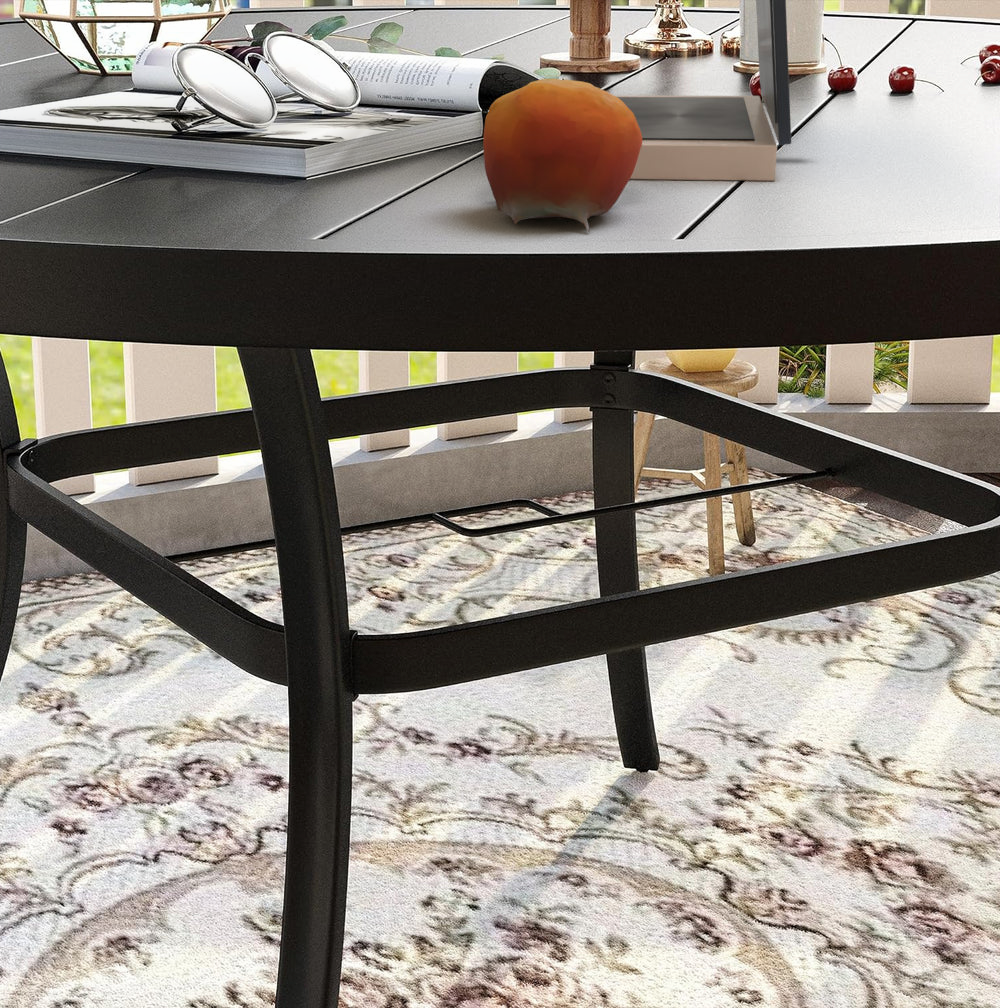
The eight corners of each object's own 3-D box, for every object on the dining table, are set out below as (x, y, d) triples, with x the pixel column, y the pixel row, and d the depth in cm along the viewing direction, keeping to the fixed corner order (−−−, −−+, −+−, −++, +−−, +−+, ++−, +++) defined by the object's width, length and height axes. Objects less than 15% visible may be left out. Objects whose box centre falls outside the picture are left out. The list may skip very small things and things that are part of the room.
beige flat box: (517, 178, 83) (517, 142, 82) (550, 123, 103) (550, 93, 102) (775, 181, 81) (777, 143, 80) (758, 124, 101) (759, 94, 100)
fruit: (462, 210, 67) (474, 52, 68) (487, 261, 75) (498, 118, 76) (631, 214, 66) (641, 53, 67) (638, 265, 74) (647, 120, 75)
